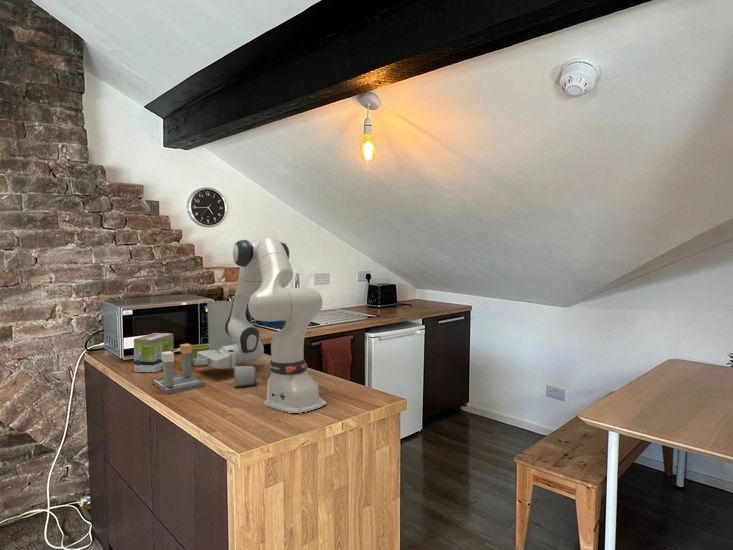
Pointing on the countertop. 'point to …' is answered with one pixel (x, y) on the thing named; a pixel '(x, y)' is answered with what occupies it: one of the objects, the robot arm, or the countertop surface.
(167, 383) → the white fader
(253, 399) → the countertop surface
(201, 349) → the plant pot
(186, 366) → the orange fader
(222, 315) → the cylinder vase
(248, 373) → the ceramic mug
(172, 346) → the tea box
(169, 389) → the plate
